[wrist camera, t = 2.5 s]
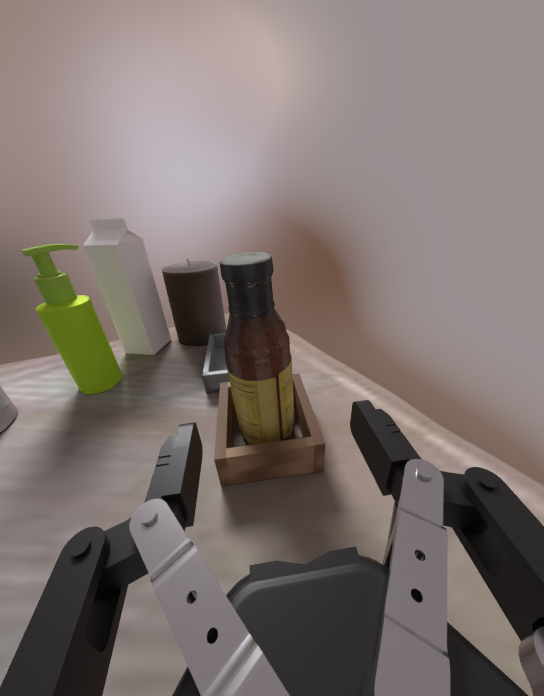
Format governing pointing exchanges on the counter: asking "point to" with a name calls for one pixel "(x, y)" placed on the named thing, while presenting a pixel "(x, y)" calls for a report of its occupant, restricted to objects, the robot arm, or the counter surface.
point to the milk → (127, 286)
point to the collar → (268, 445)
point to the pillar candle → (195, 300)
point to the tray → (215, 364)
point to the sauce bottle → (257, 351)
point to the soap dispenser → (73, 325)
